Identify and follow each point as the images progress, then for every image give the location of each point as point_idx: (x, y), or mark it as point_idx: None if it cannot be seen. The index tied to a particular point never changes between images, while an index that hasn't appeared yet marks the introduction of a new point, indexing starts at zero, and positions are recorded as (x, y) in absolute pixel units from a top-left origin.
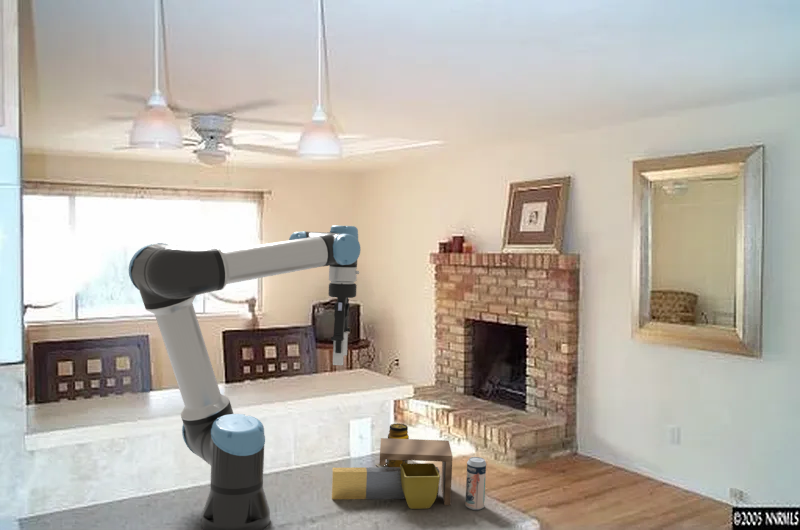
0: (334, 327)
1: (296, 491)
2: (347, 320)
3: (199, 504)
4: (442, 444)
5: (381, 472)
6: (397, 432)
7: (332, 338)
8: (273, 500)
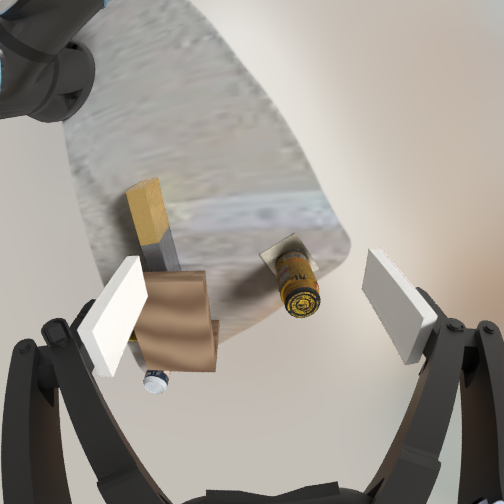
0: (6, 393)
1: (161, 120)
2: (461, 408)
3: (105, 13)
4: (193, 364)
5: (147, 266)
6: (285, 299)
7: (47, 334)
8: (124, 97)
